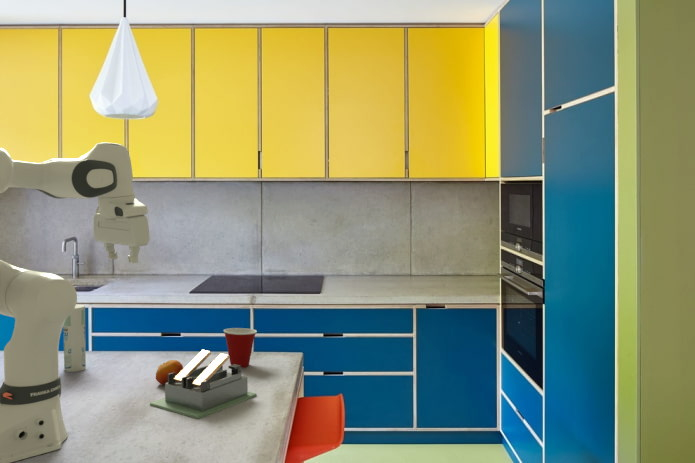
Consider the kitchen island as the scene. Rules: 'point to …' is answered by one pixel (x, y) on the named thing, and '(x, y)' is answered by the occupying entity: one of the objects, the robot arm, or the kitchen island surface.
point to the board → (195, 413)
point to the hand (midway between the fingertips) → (123, 260)
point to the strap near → (210, 370)
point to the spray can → (74, 340)
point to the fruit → (168, 370)
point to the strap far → (192, 365)
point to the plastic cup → (239, 345)
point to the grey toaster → (207, 389)
